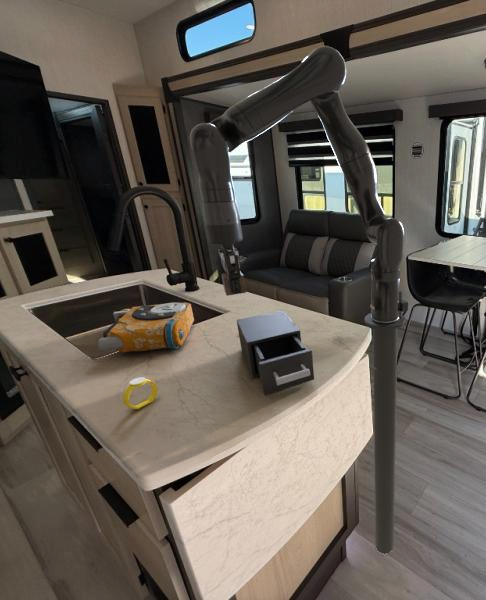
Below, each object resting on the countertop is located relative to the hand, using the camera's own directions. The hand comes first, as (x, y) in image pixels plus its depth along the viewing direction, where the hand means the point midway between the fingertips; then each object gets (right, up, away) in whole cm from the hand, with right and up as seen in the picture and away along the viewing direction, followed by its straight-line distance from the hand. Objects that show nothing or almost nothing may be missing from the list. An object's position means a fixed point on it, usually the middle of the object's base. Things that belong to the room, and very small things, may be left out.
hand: (235, 290), depth 80 cm
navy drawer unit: (+7, -18, +6) cm, 20 cm away
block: (0, 0, 0) cm, 0 cm away
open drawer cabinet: (+14, -21, -4) cm, 25 cm away
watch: (-14, -25, -12) cm, 31 cm away
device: (-34, -14, +18) cm, 41 cm away
